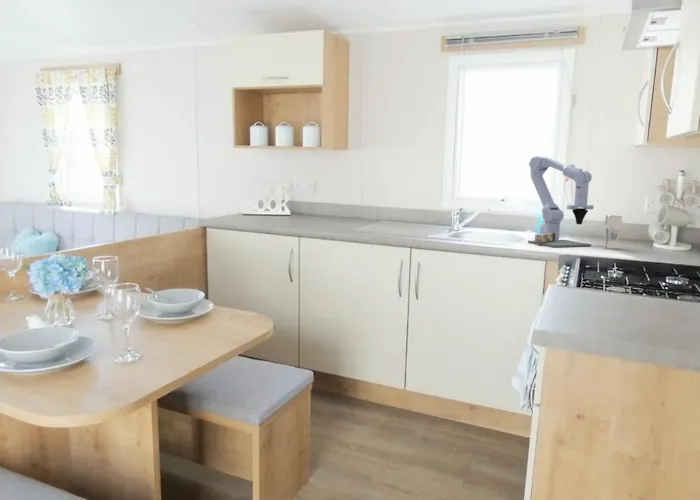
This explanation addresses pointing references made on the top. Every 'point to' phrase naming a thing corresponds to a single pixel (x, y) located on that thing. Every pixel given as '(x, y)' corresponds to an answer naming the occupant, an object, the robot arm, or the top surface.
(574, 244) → the gate board
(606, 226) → the beer glass
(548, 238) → the gate
